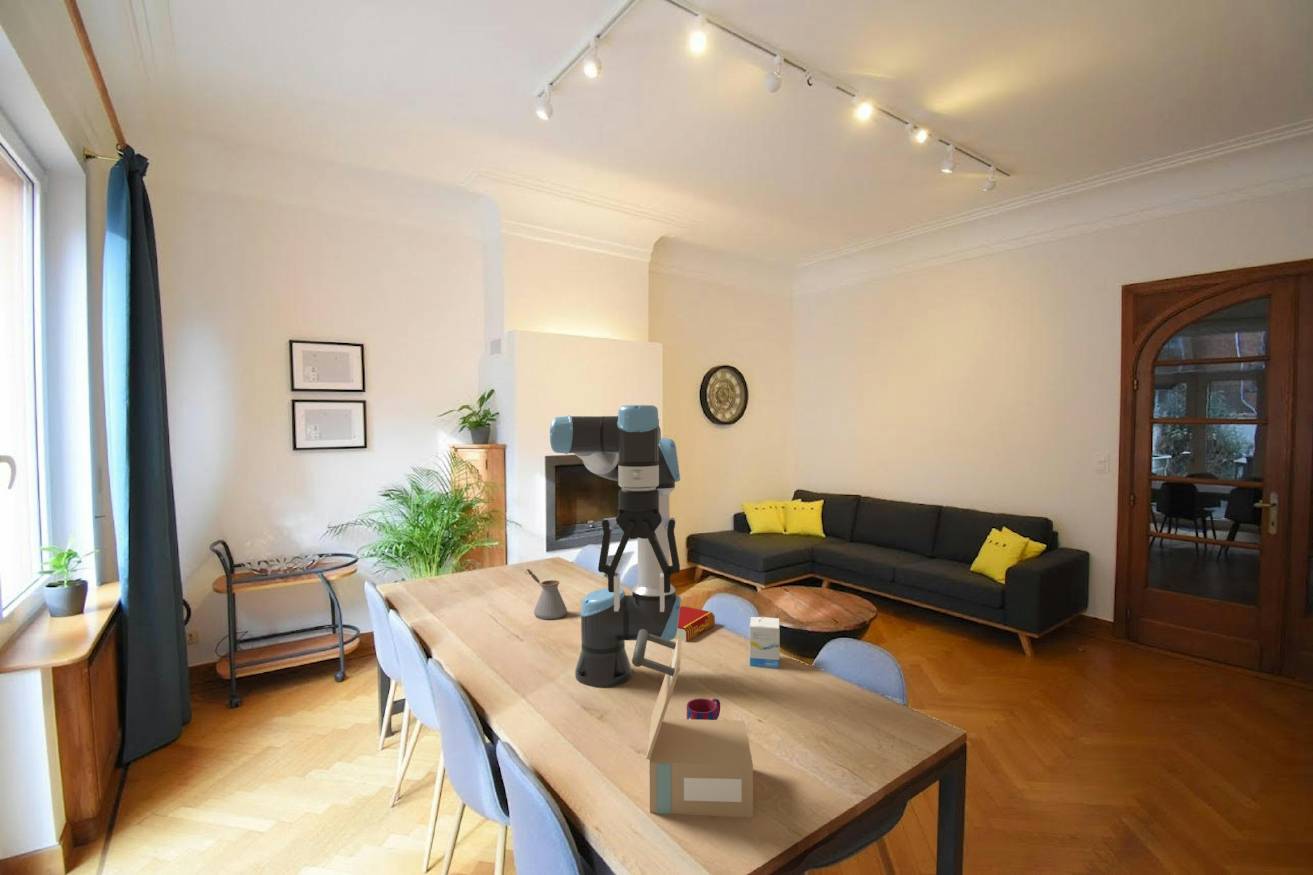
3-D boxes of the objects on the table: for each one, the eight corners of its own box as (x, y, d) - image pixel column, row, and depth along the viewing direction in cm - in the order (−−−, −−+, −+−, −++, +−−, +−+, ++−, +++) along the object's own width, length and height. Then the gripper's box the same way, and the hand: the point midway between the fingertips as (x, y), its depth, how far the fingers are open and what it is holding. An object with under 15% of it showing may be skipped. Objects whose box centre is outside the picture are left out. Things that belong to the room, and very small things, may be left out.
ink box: (779, 669, 163) (779, 627, 163) (749, 666, 165) (749, 625, 165) (779, 656, 172) (779, 617, 171) (750, 654, 173) (750, 615, 173)
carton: (649, 819, 102) (649, 763, 102) (654, 767, 117) (654, 718, 117) (753, 822, 101) (753, 765, 101) (744, 769, 116) (744, 720, 116)
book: (687, 644, 182) (687, 628, 182) (653, 636, 189) (653, 621, 189) (714, 627, 197) (714, 612, 197) (682, 620, 204) (682, 606, 204)
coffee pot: (573, 618, 205) (573, 576, 205) (545, 627, 197) (544, 583, 197) (540, 605, 221) (540, 565, 220) (513, 612, 213) (513, 571, 212)
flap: (649, 759, 102) (604, 743, 103) (654, 717, 117) (614, 703, 117) (680, 668, 102) (634, 653, 102) (681, 637, 116) (641, 624, 116)
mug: (680, 735, 129) (680, 705, 129) (710, 719, 136) (710, 690, 136) (702, 747, 124) (702, 716, 124) (732, 730, 131) (732, 700, 131)
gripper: (579, 490, 105) (581, 615, 106) (694, 490, 104) (695, 616, 105) (587, 485, 113) (588, 602, 113) (694, 485, 112) (694, 603, 112)
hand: (639, 609), depth 109 cm, fingers open, 8 cm apart
